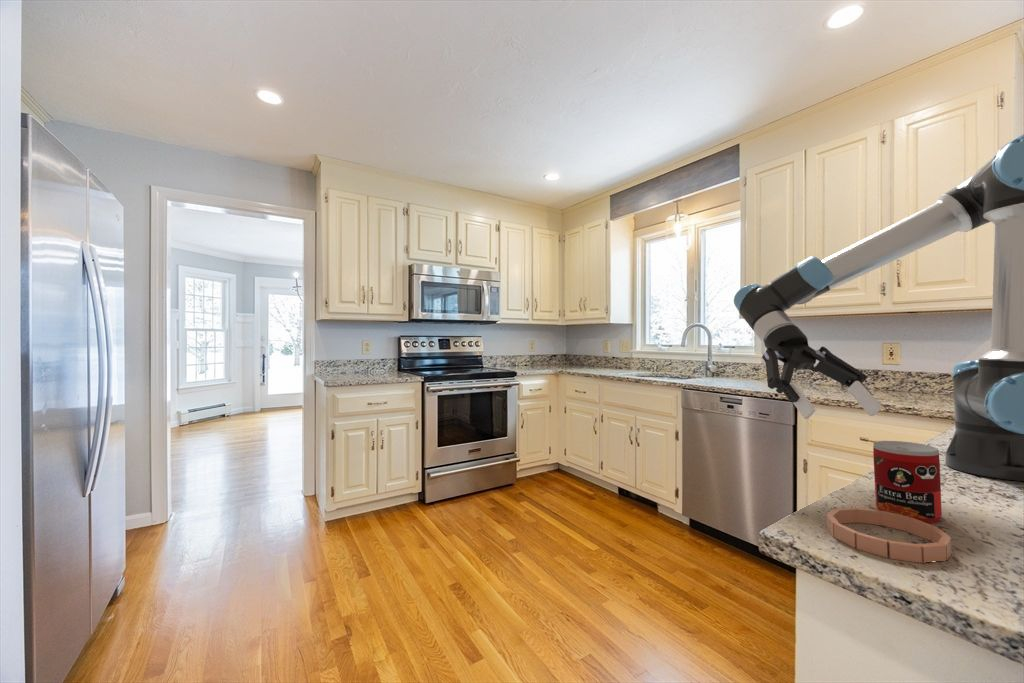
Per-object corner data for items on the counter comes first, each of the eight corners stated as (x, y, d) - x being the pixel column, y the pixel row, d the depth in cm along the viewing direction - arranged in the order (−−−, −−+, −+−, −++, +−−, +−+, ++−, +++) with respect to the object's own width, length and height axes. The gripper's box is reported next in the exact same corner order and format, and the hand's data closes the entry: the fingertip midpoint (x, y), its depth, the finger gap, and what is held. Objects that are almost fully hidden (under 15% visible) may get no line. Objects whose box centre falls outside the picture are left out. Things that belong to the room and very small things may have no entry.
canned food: (869, 513, 67) (866, 445, 67) (882, 501, 72) (880, 438, 72) (936, 529, 61) (933, 454, 61) (946, 515, 65) (943, 446, 66)
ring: (844, 514, 67) (843, 501, 67) (957, 542, 56) (957, 527, 56) (815, 536, 59) (814, 522, 59) (940, 573, 49) (939, 556, 49)
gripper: (821, 346, 96) (889, 422, 81) (721, 349, 93) (772, 427, 78) (841, 322, 91) (917, 398, 76) (735, 324, 88) (793, 403, 73)
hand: (843, 413), depth 77 cm, fingers open, 13 cm apart
